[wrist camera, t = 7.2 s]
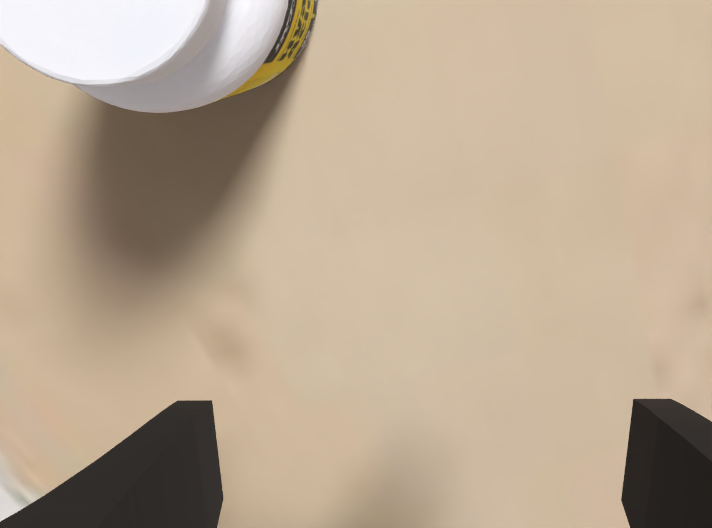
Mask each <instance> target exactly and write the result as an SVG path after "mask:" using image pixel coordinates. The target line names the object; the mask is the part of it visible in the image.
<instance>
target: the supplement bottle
mask: <svg viewBox="0 0 712 528" xmlns="http://www.w3.org/2000/svg"><path fill="white" fill-rule="evenodd" d="M317 9H318V0H0V44H1V45H2V46H3V47H4V48H5V49H6V50H7V51H8V52H9V53H11V54H12V55H13V56H14V57H16V58H17V59H18V60H20V61H21V62H23V63H24V64H26V65H28V66H29V67H31V68H32V69H34V70H36V71H38V72H40V73H42V74H44V75H46V76H48V77H51V78H53V79H56V80H59V81H62V82H66V83H70V84H73V85H74V86H76V87H77V88H79V89H80V90H82V91H84V92H85V93H87V94H89V95H91V96H92V97H94V98H96V99H99V100H101V101H104V102H106V103H108V104H111V105H114V106H117V107H120V108H124V109H128V110H133V111H139V112H150V113H168V112H177V111H183V110H188V109H194V108H198V107H201V106H204V105H207V104H211V103H213V102H216V101H219V100H221V99H224V98H227V97H230V96H233V95H236V94H239V93H242V92H245V91H248V90H250V89H253V88H256V87H258V86H260V85H263V84H265V83H267V82H269V81H271V80H273V79H274V78H276V77H277V76H279V75H280V74H281V73H282V72H284V71H285V70H286V69H287V68H288V67H289V66H290V65H291V64H292V63H293V62H294V61H295V59H296V58H297V57H298V56H299V54H300V53H301V51H302V50H303V49H304V47H305V45H306V43H307V41H308V39H309V37H310V35H311V32H312V30H313V27H314V23H315V19H316V15H317Z"/></svg>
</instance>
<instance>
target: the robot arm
mask: <svg viewBox="0 0 712 528" xmlns="http://www.w3.org/2000/svg"><path fill="white" fill-rule="evenodd" d="M621 501H622V504H623V507H624V510H625V513H626V516H627V519H628V522H629V525H630V528H712V422H711V421H710V420H708V419H706V418H705V417H703V416H701V415H700V414H698V413H696V412H695V411H693V410H691V409H689V408H687V407H686V406H684V405H682V404H680V403H678V402H676V401H674V400H672V399H633V407H632V416H631V424H630V432H629V441H628V449H627V457H626V466H625V474H624V482H623V491H622V499H621ZM222 502H223V492H222V483H221V475H220V466H219V457H218V449H217V440H216V431H215V423H214V414H213V405H212V401H177V402H175V403H173V404H172V405H170V406H169V407H167V408H166V409H165V410H163V411H162V412H160V413H159V414H158V415H156V416H155V417H154V418H152V419H151V420H150V421H148V422H147V423H146V424H144V425H143V426H142V427H140V428H139V429H138V430H137V431H135V432H134V433H133V434H131V435H130V436H129V437H127V438H126V439H125V440H123V441H122V442H121V443H119V444H118V445H116V446H115V447H114V448H112V449H111V450H110V451H108V452H107V453H106V454H104V455H103V456H102V457H100V458H99V459H98V460H96V461H95V462H93V463H92V464H90V465H89V466H87V467H86V468H84V469H83V470H82V471H80V472H79V473H77V474H76V475H74V476H73V477H71V478H70V479H68V480H67V481H65V482H64V483H62V484H61V485H59V486H58V487H56V488H55V489H54V490H52V491H51V492H49V493H48V494H46V495H45V496H43V497H41V498H40V499H38V500H37V501H35V502H33V503H32V504H30V505H28V506H27V507H25V508H23V509H22V510H20V511H18V512H17V513H15V514H13V515H11V516H10V517H8V518H6V519H4V520H3V521H1V522H0V528H217V524H218V520H219V515H220V511H221V506H222Z"/></svg>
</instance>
